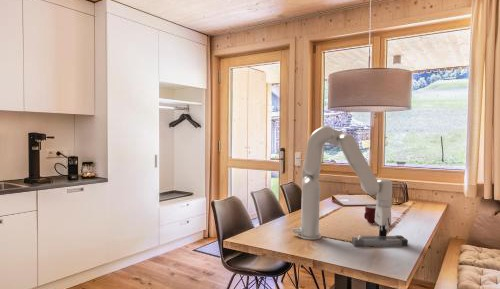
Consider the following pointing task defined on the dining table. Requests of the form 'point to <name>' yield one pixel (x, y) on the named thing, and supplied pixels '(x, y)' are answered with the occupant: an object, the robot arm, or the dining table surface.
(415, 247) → the dining table surface
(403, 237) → the tongs leg
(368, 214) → the mug
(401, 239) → the base
